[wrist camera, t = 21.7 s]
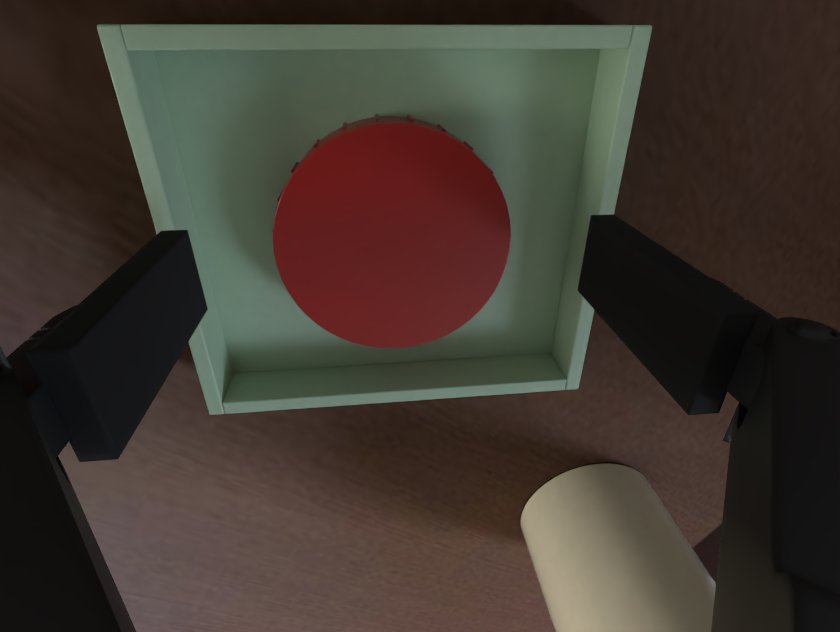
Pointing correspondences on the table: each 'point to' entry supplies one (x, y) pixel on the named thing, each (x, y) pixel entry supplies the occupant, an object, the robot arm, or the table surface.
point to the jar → (614, 556)
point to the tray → (348, 102)
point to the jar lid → (391, 232)
